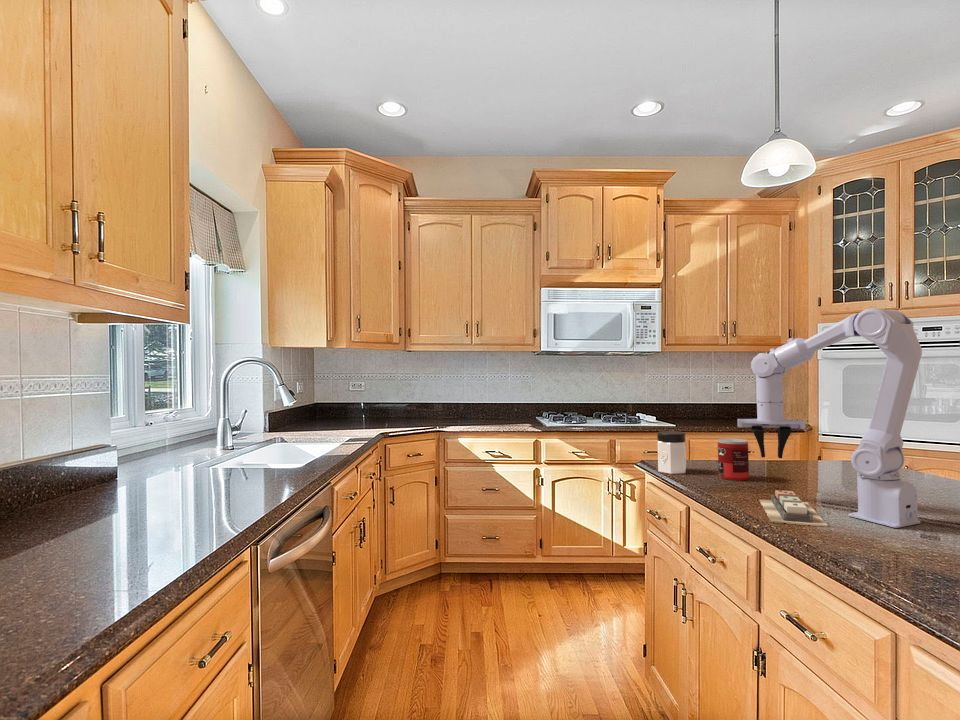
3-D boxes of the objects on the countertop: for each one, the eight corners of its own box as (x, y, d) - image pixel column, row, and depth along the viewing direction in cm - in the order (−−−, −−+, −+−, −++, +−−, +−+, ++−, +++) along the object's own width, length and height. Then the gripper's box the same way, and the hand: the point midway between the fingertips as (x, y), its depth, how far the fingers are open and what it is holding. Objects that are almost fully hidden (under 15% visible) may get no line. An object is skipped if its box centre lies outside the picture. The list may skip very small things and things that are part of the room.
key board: (827, 527, 105) (827, 518, 105) (771, 522, 108) (771, 514, 108) (807, 504, 121) (807, 496, 121) (759, 500, 125) (759, 493, 125)
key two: (801, 507, 113) (801, 500, 113) (782, 506, 114) (782, 499, 114) (797, 503, 116) (797, 496, 116) (779, 502, 117) (779, 495, 117)
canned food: (722, 474, 155) (721, 437, 156) (751, 477, 150) (750, 439, 150) (715, 478, 149) (714, 440, 150) (745, 482, 144) (744, 442, 145)
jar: (651, 470, 162) (650, 432, 162) (667, 467, 167) (666, 430, 167) (677, 475, 155) (676, 435, 155) (692, 471, 160) (691, 432, 160)
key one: (807, 514, 107) (807, 507, 107) (787, 513, 109) (787, 505, 109) (803, 509, 111) (803, 502, 111) (784, 508, 112) (783, 501, 112)
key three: (796, 501, 118) (796, 494, 118) (778, 499, 119) (777, 493, 119) (792, 497, 121) (792, 490, 121) (775, 496, 122) (775, 489, 122)
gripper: (801, 401, 129) (802, 455, 129) (736, 400, 135) (737, 453, 135) (806, 403, 123) (807, 460, 122) (737, 402, 128) (739, 457, 128)
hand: (771, 457), depth 128 cm, fingers open, 3 cm apart
